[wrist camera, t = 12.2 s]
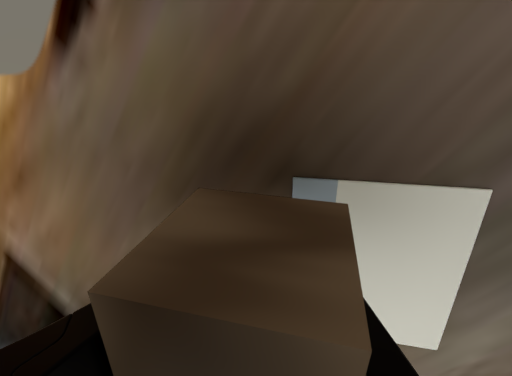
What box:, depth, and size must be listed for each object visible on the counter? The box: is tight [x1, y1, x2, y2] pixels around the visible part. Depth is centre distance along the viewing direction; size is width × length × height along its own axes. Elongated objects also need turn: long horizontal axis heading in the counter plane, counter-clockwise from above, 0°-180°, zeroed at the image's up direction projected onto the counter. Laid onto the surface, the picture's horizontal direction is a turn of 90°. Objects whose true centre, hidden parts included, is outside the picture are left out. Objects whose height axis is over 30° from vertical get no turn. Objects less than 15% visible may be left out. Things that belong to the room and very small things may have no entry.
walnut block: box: [88, 188, 372, 376], centre depth 8 cm, size 5×5×5 cm
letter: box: [292, 177, 493, 350], centre depth 21 cm, size 12×14×1 cm
